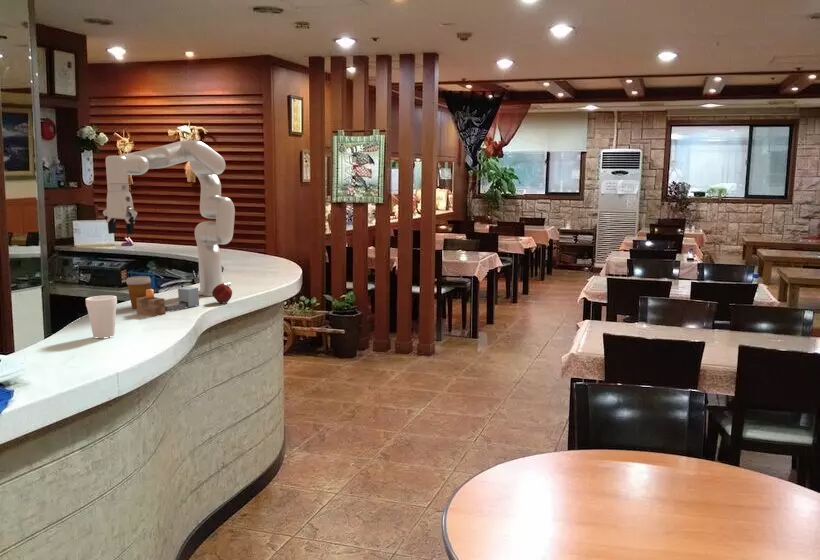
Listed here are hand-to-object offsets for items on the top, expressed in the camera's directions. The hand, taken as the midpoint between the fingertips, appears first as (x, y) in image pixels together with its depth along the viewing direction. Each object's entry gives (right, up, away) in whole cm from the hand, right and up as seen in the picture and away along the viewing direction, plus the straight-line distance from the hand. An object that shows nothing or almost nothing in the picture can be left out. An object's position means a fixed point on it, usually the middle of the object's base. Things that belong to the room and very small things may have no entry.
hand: (121, 233), depth 283 cm
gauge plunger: (+12, -25, -3) cm, 28 cm away
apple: (+34, -27, +19) cm, 47 cm away
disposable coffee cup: (+3, -29, +11) cm, 31 cm away
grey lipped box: (+22, -28, +12) cm, 38 cm away
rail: (+20, -29, +9) cm, 36 cm away
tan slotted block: (+12, -31, -2) cm, 33 cm away
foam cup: (+10, -37, -40) cm, 55 cm away
